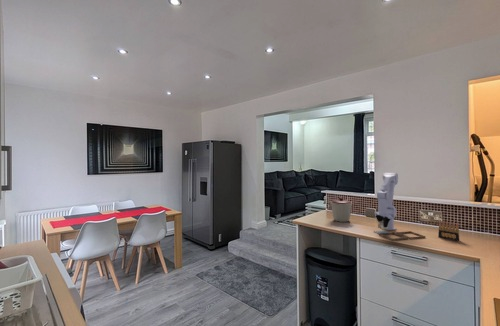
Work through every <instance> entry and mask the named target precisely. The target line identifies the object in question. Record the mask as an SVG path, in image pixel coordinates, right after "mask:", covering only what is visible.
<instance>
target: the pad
mask: <svg viewBox="0 0 500 326" xmlns="http://www.w3.org/2000/svg"><path fill="white" fill-rule="evenodd" d="M373 233H375V234H378V235H379V234H382V233H392V232H391V231H389V230H376V231H375V230H374V231H373Z"/></svg>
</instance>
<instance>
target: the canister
mask: <svg viewBox="0 0 500 326" xmlns="http://www.w3.org/2000/svg"><path fill="white" fill-rule="evenodd" d="M330 204H331V211H332V212H331V213H332V218H333V220H334V221H336V222H338V221H339V223H345V222H349V220H351V214H352V213H351V212H352V204H353V202H352V201H350V200H349V199H348V200H347V199H344V197H343V196H339V198H338V199H333V200H331V201H330Z"/></svg>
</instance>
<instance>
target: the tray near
mask: <svg viewBox="0 0 500 326" xmlns="http://www.w3.org/2000/svg"><path fill="white" fill-rule="evenodd" d="M378 235H379V236H380V237H382V238H384V239H388V240H390V241H392V242H393V241H405V240H409V239H408V238H407V237H405V236H402V235H399V234H396V232H391V233H382V234H378ZM391 235H395V236H396V237H397V238H395V237H394V238H391V237H388V236H391ZM398 237H399V238H398Z"/></svg>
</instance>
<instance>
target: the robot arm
mask: <svg viewBox="0 0 500 326" xmlns="http://www.w3.org/2000/svg"><path fill="white" fill-rule="evenodd" d="M382 180H383V184H382V185H381V186H380V188H379V190H378V191H377V192H376V193H377V194H376V198H377V203H378V206H377V207H378V208H377V209H378V210H377V211H374V215H375V218H376V220H377V223H378V222H379V221H383V223H384V227H387V226H388V229H385V231H394V230H395V231H396V230H397V228H395V226H394V225H395V223H394V222H395V218H396V217H397V208H396V207H395V206H394V205H393V203H394V193H395V187H396V185H398V182H399V174H398V172H383V173H382Z"/></svg>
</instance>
